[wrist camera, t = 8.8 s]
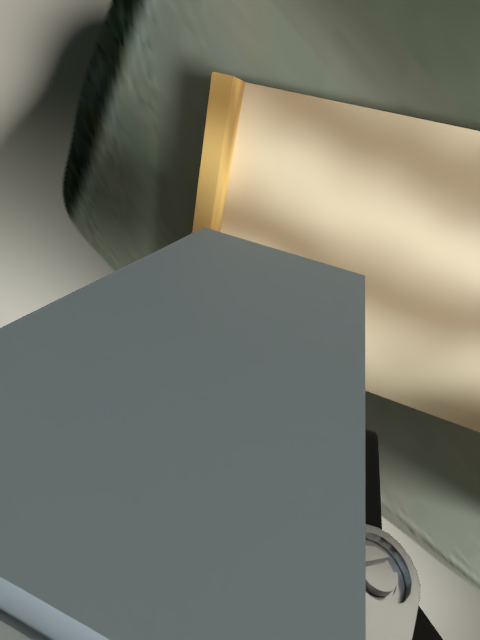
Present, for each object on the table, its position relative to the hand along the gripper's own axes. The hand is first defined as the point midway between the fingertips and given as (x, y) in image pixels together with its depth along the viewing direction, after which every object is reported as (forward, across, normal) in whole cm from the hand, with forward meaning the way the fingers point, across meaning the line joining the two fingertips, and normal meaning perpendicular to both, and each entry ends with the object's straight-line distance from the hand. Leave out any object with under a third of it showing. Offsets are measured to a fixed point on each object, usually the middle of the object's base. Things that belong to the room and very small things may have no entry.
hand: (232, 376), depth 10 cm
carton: (+2, 0, 0) cm, 2 cm away
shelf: (+12, -4, -1) cm, 13 cm away
